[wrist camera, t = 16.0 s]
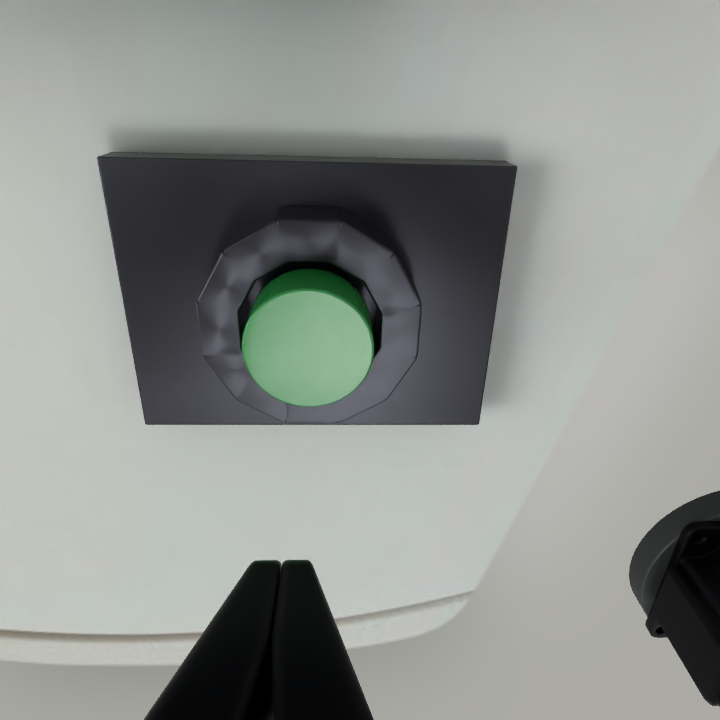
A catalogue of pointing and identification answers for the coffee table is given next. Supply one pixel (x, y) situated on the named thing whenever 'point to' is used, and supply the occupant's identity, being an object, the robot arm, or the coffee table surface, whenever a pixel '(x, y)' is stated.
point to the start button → (308, 338)
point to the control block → (308, 251)
